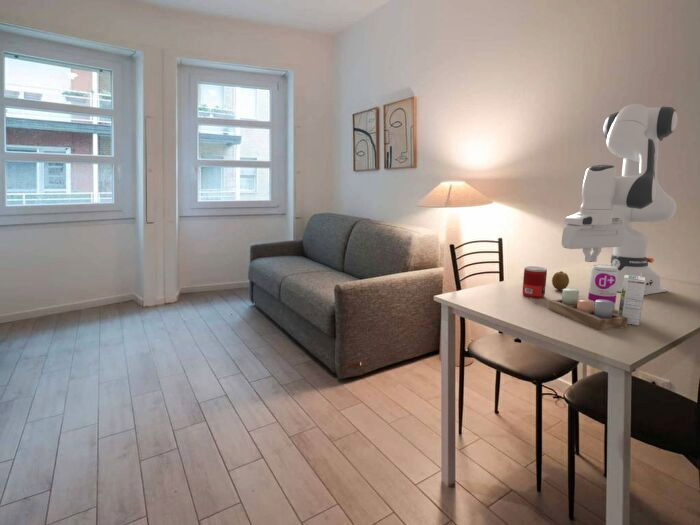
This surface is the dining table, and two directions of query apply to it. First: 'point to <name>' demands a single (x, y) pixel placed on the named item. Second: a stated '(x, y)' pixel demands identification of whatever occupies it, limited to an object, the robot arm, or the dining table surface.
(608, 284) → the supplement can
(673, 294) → the dining table surface
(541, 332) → the dining table surface
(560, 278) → the fruit
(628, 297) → the syrup box
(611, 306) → the grey button
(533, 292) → the canned food
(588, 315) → the wooden tray
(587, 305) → the pink rounded cylinder
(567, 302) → the sage button
